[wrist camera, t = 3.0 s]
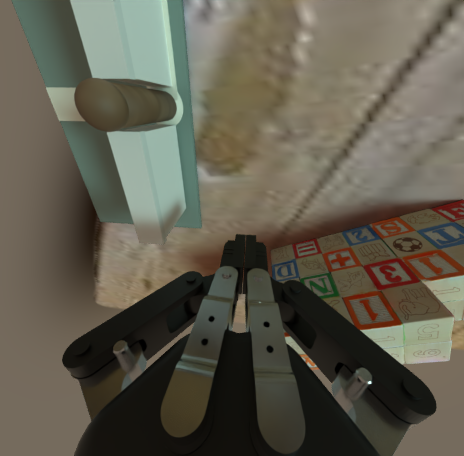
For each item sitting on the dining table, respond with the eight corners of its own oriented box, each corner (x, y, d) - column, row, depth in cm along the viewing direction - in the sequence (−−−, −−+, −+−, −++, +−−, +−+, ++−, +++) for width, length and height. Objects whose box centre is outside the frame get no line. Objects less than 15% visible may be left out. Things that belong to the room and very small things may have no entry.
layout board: (-41, -142, 13) (-51, -151, 12) (169, -164, 11) (165, -174, 11) (102, 220, 27) (99, 222, 27) (201, 226, 26) (200, 228, 25)
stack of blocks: (465, 196, 21) (678, 289, 10) (458, 242, 23) (620, 351, 13) (268, 249, 27) (276, 340, 16) (282, 280, 30) (296, 374, 19)
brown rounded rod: (150, 89, 18) (51, 74, 9) (177, 90, 18) (102, 74, 9) (155, 121, 20) (73, 133, 11) (181, 121, 19) (118, 135, 11)
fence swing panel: (154, 123, 19) (106, 131, 13) (177, 123, 19) (139, 131, 13) (169, 208, 24) (139, 242, 18) (187, 209, 24) (163, 244, 18)
